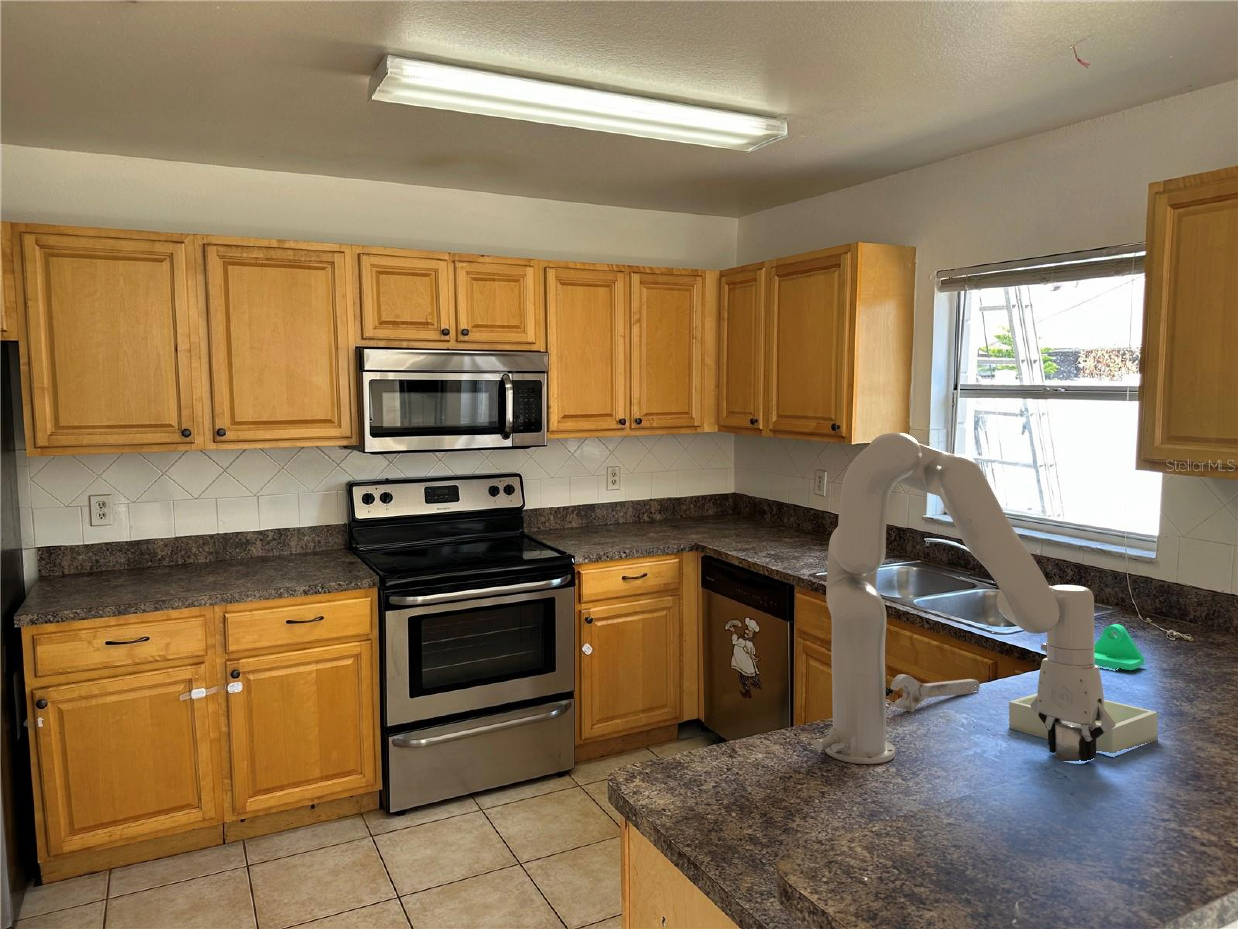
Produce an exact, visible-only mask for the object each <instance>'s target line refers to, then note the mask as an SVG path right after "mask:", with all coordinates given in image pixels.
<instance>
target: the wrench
mask: <svg viewBox="0 0 1238 929" xmlns="http://www.w3.org/2000/svg"><path fill="white" fill-rule="evenodd" d="M975 686H976V687H975ZM980 687H981V686H980V681H978V680H977V679H974V678H973V679H972V678H967V679H957V680H946V681H939V682H928V683H921V682H920V681H918V680H917V679H915V678H913V676H911V675H907V674H903V673H902V674H901V673H900V674H897V675H896V676H895V677H894V678H893V679H892V681H891V683H890V687H889V688H890V690H893V691H896V692H897V691H899V690H900V689H901V688H902V692H903V694H902V696H901V697H899V698H898V699H896V700H895V701H894V705H895V707H896V708H898V709H901V710H904V711H908V712H911V713H914V712H915V710H916V708H917V706H919V704H921V703H922V702H923V701H924V700H926V699H930V698H938V697H949V696H961V695H971V693H973V694H975V693H974V691H978V692H979V691H980V689H981V688H980Z"/></svg>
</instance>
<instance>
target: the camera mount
mask: <svg viewBox="0 0 1238 929" xmlns="http://www.w3.org/2000/svg"><path fill="white" fill-rule="evenodd" d="M1114 632H1115V634H1116V635H1115V634H1114ZM1094 651H1095V665H1099V666H1102V667H1109V668H1112V669H1115V670H1116V669H1117V668H1121V669H1120V670H1129V671H1133V670H1136V669H1138V668H1140V667H1142V666H1144V665H1145V657H1144V656H1143V653H1141V651H1140V649H1139V648H1138V646H1137V645H1136V644H1135V642H1134V639H1132V637H1131V635H1130V633H1129V632H1128V630H1127V629H1126V627H1125V626H1123V624H1122V625H1121V624H1118V623H1115V624H1111V625H1108V626H1106V627H1104V629H1103V631H1102V634H1101V636H1100V637H1099V638H1098V640H1097V641H1096V642H1095V643H1094Z"/></svg>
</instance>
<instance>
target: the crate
mask: <svg viewBox="0 0 1238 929" xmlns="http://www.w3.org/2000/svg"><path fill="white" fill-rule="evenodd" d="M1037 694H1038V692H1036V693H1033V694H1029V695H1027V696H1023V697H1019V698H1016V699H1013V700H1010V701H1008V717H1009V718H1008V723H1009V727H1008V728H1009V729H1012V730H1015V731H1018V732H1021V733H1025V734H1029V735H1032V736H1036V737H1039V738H1042V739H1046V740H1048V730H1047V729H1046V728H1045V724H1044V723H1043V722H1042V720H1041V719H1040V718H1039V716H1038V714H1037V713H1036V712H1035V711H1034V710H1033V709H1032V708H1031V706H1030V705H1031V703H1032V702H1033V701H1034V700H1035V699H1036V698H1037ZM1104 709H1105V710H1106V711H1107V713H1108V714H1109V716H1110V717H1111V718H1112V720H1113V721H1114V723H1115V725H1116V726H1115V727H1114V728H1112V729H1110V730H1108V731H1106V732H1105V733H1104V734H1102V735H1101V736H1099V738H1097V739H1096V751H1102V752H1109V753H1116V752H1117V751H1121V750H1123V749H1129V748H1132V747H1134V746H1139V745H1141V744H1145V743H1149V742H1151V743H1153V742H1152V741H1154V742H1156V741H1158V740H1159V737H1158V736H1159V735H1158V734H1159V733H1158V732H1159V730H1158V726H1159V723H1158V712H1157V711H1154V710H1151V709H1145V708H1142V707H1137V706H1134V705H1130V704H1126V703H1122V702H1117V701H1112V700H1108V699H1104ZM1061 721H1065V720H1061ZM1096 725H1097V727H1098V726H1100V725H1101V724H1099V723H1096ZM1155 740H1156V741H1155ZM1149 744H1150V743H1149Z"/></svg>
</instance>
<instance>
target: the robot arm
mask: <svg viewBox="0 0 1238 929" xmlns="http://www.w3.org/2000/svg"><path fill="white" fill-rule="evenodd" d="M897 483H899V484H902V485H904V486H907V487H910V488H913V489H916V490H918V491H922V492H925V493H927V494H931V495H934V496H937V497H939V498H940V501H941V502H942V504H943V506H944V508H945V509H946V511H947V512H948V515H949V516H950V518H951V520H952V522H953V525H954V526H955V528H956V531H957V532H958V534H959V536H960V539H961V540H962V542H963V543H964V545H965V547H966V548H967V549H968V551H969V552H970V554H971V555H972V556H973V557H974V558H975V560H977V561H978V562H979V563H980V564H981V565H982V566H983V567H984V568H985V569H986V571H988V573H989V575H990V576H991V577H992V579H993V580H994V582H995V583H996V585H997V587H998V589H999V590H1000V591H999V592H998V594H997V596H996V606H997V610H998V611H999V613H1000V615H1002V616H1003V617H1004V618H1005V620H1007V621H1008V622H1011V623H1012V624H1014V625H1015V626H1016V627H1019V628H1020V629H1021V630H1023V631H1025V632H1027V633H1030V634H1035V635H1040V634H1041V635H1042V634H1045V633H1046V643H1041V645H1040V650H1041V651H1043V652H1045V654H1046V657H1045V658H1043V659H1042V660H1041V663H1040V664H1041V665H1040V670H1039V675H1038V680H1037V681H1038V684H1037V693H1038V694H1037V698H1036V699H1035V700H1034V701H1033V702H1032V703H1031V705H1030V706H1031V708H1032V709H1033V710H1034V711H1035V712H1036V713H1037V714H1038V716H1039V718H1040V719H1041V720H1042V722H1043V723H1044V724H1045V728H1046V729H1047V730H1048V739H1047V745H1048V749H1049V750H1048V751H1049V752H1050V753H1052V754H1053V753H1054V754H1055V723H1056V722H1058V721H1061V720H1065V721H1069V722H1073V723H1077V724H1080V725H1081V728H1082V731H1083V735H1084V739H1083V740H1081V761H1087V760H1091V759H1093V758H1095V759H1096V757H1097V753H1096V739H1097V738H1099V736H1101V735H1102V734H1104V733H1105V732H1106V731H1108V730H1110V729H1112V728H1114V727H1115V726H1116V725H1115V723H1114V721H1113V720H1112V718H1111V717H1110V716H1109V714H1108V713H1107V711H1106V710H1105V709H1104V700H1105V696H1104V687H1103V681H1102V676H1101V671H1100V668H1098V666H1097V665H1095V651H1094V645H1095V597H1094V594H1093V591H1092V590H1091V589H1090V588H1088V587H1085V586H1082V585H1075V584H1074V585H1073V584H1056V585H1052V586H1051V585H1049V583H1048V581H1047V579H1046V577H1045V574H1044V573H1043V571H1042V570H1041V568H1040V567H1039V565H1038V564H1037V561H1036V560H1035V559H1034V557H1033V556H1032V554H1031V552H1029V550H1028V549H1027V548H1026V546H1025V544H1024V543H1023V541H1022V539H1021V537H1020V536H1019V535H1018V533H1017V532H1016V531H1015V529H1014V528H1013V527H1012V524H1011V523H1010V521H1009V519H1008V517H1007V516H1006V514H1005V512H1004V509H1003V508H1002V506H1001V504H1000V502H999V500H998V499H997V497H996V495H995V493H994V490H993V489H992V487H991V485H990V484H989V482H988V480H987V478H986V476H985V473H984V472H983V470H982V469H981V467H980V466H979V464H978V463H977V462H976V461H975V460H974V458H972V457H970V456H967V455H964V454H959V453H949V452H945V451H941V450H939V449H936V448H934V447H933V448H932V447H930V446H927V445H924V444H921V443H918V441H917V440H916V439H915V437H913V436H911V435H909V434H908V433H904V432H889V433H884V434H880V435H878V436H877V437H875V438H874V439H873V440H872V441H871V442H870V443H869V444H868V446H866V447H865V448H864V449H862V450H861V451H860V453H859V454H858V455H857V456H855V458H854V459H853V460H852V461H851V463H850V465H849V466H848V468H847V471H846V472H845V474H844V478H843V481H842V486H841V491H840V498H839V499H840V500H839V510H838V521H837V524H838V525H837V527H836V528H834V530H833V532H832V534H831V536H830V538H829V543H828V553H827V554H828V555H827V570H826V591H825V592H826V594H825V600H826V606H827V608H828V611H829V614H830V616H831V617H830V618H831V648H830V649H831V650H830V652H831V653H830V654H831V682H832V684H831V687H832V688H831V690H832V693H831V694H832V696H831V697H832V698H831V699H832V728H830V729H829V730H828V733H829V734H828V735H827V736H826V737H823V738H820V739H816V740H815V742H814V746H815V749H816V750H817V751H819V752H821V751H824V750H825V753H826V754H827V755H828V756H830V757H832V758H833V759H836V760H839V761H842V762H846V763H851V764H860V765H873V764H874V765H876V764H882V763H886V762H889V761H891V760H893V759H894V758H895V756H896V748H895V746H894V745H893V744H892V743H891V742H889V741H887V708H886V707H887V703H886V700H887V699H886V698H887V696H886V695H887V694H886V692H887V691H886V660H885V659H886V652H885V651H886V650H885V649H886V634H887V633H886V632H887V610H886V609H887V608H886V605H885V602H884V599H883V597H882V596H881V594H880V593H879V591H878V590H877V578H878V570H879V569H880V568H881V567H882V566H883V564H884V562H885V559H886V553H887V551H886V549H887V547H886V545H887V543H886V541H887V519H888V518H887V517H888V516H887V515H888V509H889V508H888V506H889V500H890V496H891V492H892V490H893V488H894V487H895V485H896V484H897ZM1095 721H1101V722H1102V724H1101V725H1100V726H1098V727H1097V725H1096V722H1095Z"/></svg>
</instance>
